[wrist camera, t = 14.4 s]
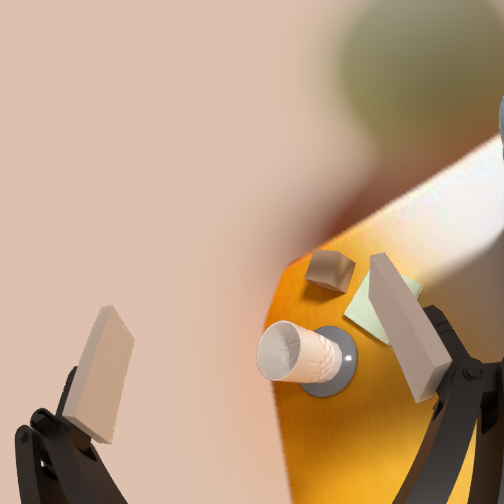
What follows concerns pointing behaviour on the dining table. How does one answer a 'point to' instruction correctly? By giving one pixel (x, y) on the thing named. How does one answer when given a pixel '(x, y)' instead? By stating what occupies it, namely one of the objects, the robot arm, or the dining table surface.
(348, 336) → the slate coaster
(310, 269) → the walnut block
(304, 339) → the white cup
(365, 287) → the green mat
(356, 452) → the dining table surface
